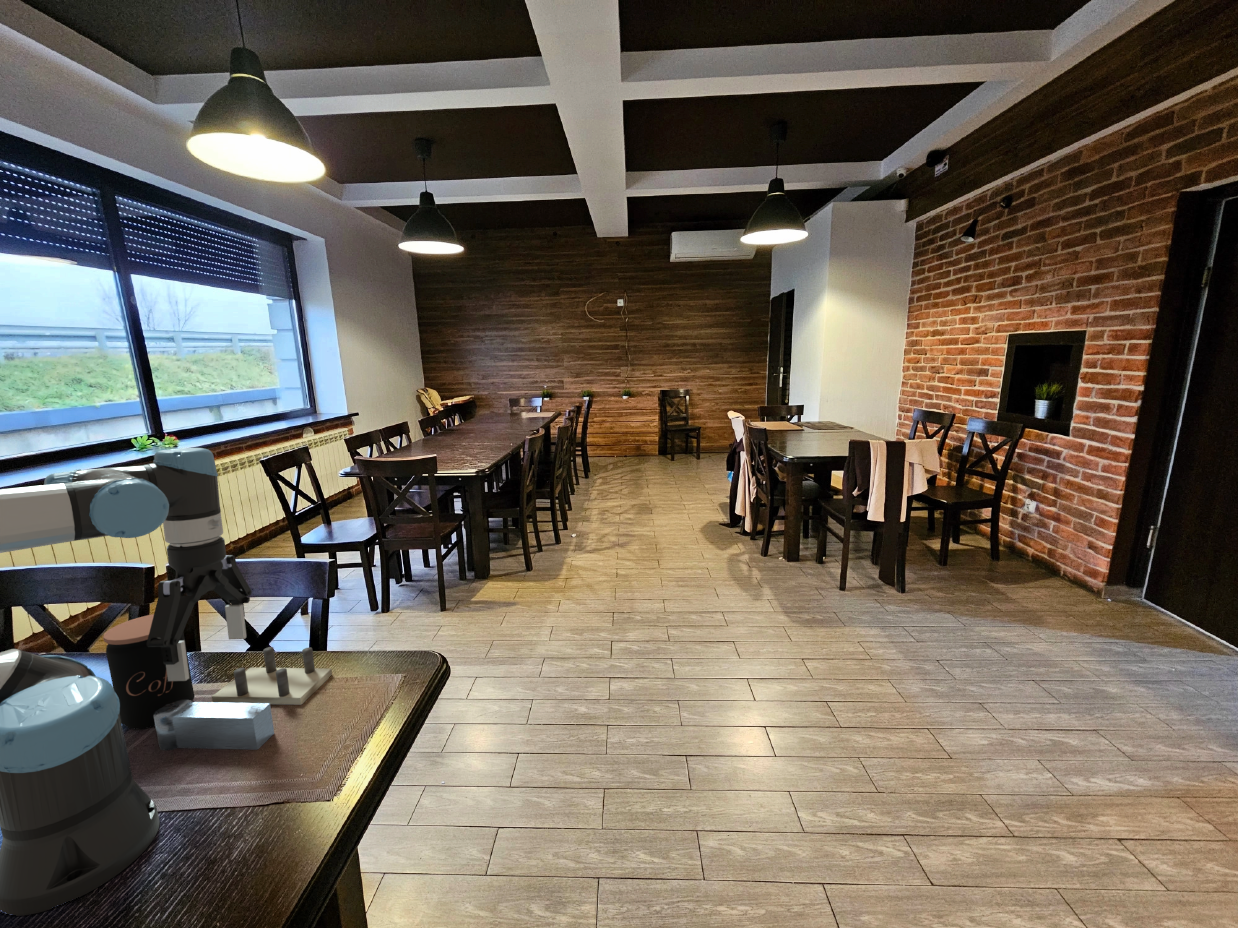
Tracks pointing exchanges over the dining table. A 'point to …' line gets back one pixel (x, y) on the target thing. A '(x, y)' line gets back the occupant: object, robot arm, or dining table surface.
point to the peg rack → (274, 682)
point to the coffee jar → (141, 673)
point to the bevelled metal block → (213, 725)
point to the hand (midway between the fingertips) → (210, 657)
